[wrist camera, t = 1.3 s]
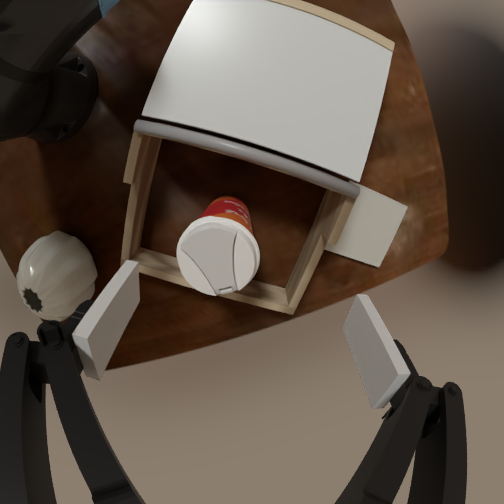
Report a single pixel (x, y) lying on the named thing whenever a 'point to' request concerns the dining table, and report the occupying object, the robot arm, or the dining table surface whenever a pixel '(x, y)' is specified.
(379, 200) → the stone tile
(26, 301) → the vase
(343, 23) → the lid
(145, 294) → the dining table surface
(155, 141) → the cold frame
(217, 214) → the coffee cup
